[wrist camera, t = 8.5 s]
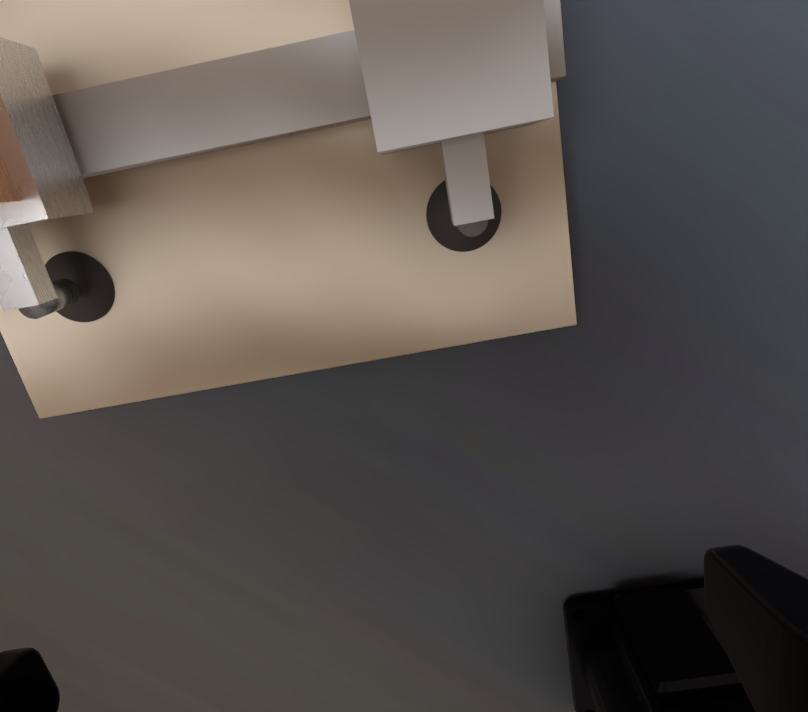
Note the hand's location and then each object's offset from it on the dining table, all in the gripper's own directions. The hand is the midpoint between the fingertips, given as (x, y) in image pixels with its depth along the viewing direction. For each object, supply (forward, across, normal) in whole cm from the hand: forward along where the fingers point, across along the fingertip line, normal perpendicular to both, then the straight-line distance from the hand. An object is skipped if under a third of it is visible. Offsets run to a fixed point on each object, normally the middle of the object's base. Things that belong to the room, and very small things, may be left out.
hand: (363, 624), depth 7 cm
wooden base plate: (+12, +3, -6) cm, 14 cm away
